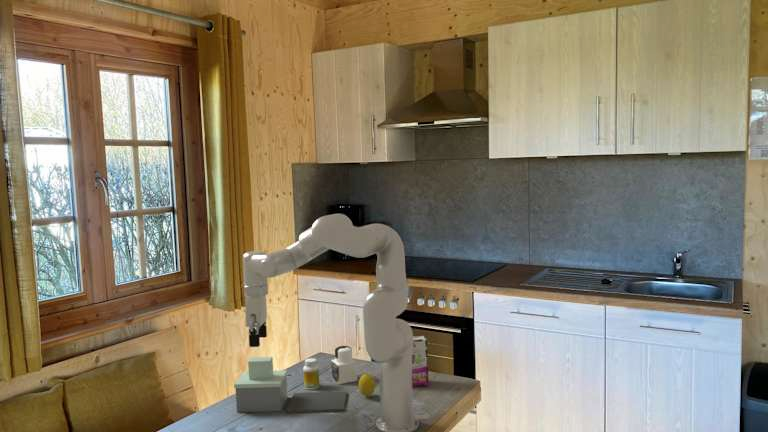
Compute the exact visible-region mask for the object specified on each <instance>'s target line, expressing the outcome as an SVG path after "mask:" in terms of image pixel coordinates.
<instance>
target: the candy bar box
mask: <svg viewBox="0 0 768 432" xmlns="http://www.w3.org/2000/svg"><path fill="white" fill-rule="evenodd" d="M423 386H429V365H428V341H427V338H426V337H425V335H420V336H419V335H417V336H413V350H412V388H413V387H423Z"/></svg>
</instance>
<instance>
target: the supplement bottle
mask: <svg viewBox="0 0 768 432" xmlns="http://www.w3.org/2000/svg"><path fill="white" fill-rule="evenodd" d="M302 369H303V370H302V371H303V373H302V375H303V388H304V389H306V390H317V389H318V388H320V370H319V369H320V368H319V365H318V364H317V359H316V358H312V357H310V358H306V359H305V360H304V366H303V368H302Z"/></svg>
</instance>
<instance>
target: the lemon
mask: <svg viewBox="0 0 768 432" xmlns="http://www.w3.org/2000/svg"><path fill="white" fill-rule="evenodd" d="M375 389H376V381H375V379H374V377H373V376H372V375H371V374H369V373H365V374H363V375H361V376H360V378H359V380H358V390H359V392H360V393H361V395H362V396H365V397H366V398H368V397H370V396H371V395H372V394H374V392H375Z"/></svg>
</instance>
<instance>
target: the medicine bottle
mask: <svg viewBox="0 0 768 432" xmlns="http://www.w3.org/2000/svg"><path fill="white" fill-rule="evenodd" d="M352 351H353V350H352V347H350V346H348V345H341V346H338V347H336V348H335V349H334V358H333V359H331V379H332V380H334V382H336V383H337V384H338V385H340V386H341V385H344V384H348V383H353V382H357V381H358V368H357V361H356V360H355V359H353V352H352Z"/></svg>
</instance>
